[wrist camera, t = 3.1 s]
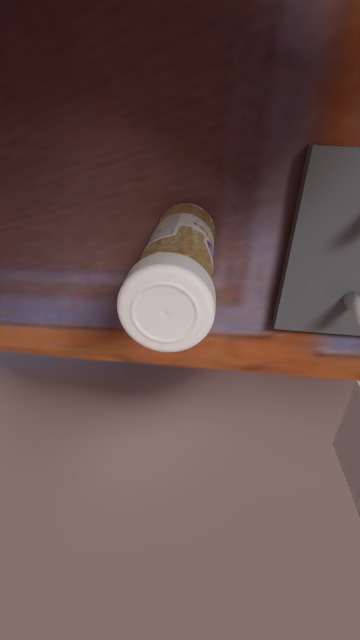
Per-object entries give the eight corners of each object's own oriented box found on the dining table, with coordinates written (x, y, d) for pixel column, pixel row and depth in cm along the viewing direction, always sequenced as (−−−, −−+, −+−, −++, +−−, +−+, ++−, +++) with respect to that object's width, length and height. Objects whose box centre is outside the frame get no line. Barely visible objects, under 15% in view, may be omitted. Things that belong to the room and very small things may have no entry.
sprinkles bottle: (225, 242, 27) (233, 333, 16) (175, 267, 29) (149, 369, 17) (197, 188, 25) (183, 247, 14) (146, 219, 27) (94, 295, 15)
